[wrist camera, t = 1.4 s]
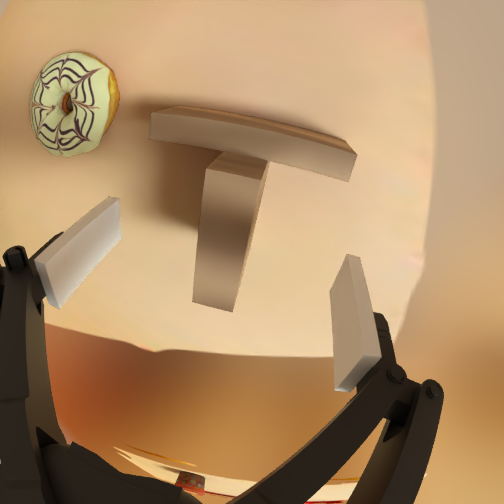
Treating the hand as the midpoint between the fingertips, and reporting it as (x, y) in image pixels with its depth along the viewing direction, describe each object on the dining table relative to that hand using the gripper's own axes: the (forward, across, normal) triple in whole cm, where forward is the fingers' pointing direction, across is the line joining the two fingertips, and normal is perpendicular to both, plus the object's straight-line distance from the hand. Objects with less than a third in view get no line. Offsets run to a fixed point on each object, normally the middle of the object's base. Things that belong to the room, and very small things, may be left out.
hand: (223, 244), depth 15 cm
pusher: (+10, 0, 0) cm, 10 cm away
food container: (+10, -2, -148) cm, 148 cm away
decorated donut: (+10, -18, +6) cm, 22 cm away
